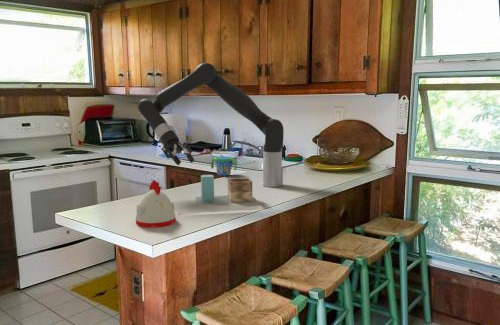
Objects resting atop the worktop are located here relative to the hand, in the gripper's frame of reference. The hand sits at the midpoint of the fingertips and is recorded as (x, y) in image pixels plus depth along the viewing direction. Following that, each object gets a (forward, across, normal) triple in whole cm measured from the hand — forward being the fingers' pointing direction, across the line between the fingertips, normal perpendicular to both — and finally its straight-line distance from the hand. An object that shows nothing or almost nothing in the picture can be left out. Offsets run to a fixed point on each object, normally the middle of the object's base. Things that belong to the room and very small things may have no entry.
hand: (186, 162), depth 190 cm
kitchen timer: (+23, -34, 0) cm, 41 cm away
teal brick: (+19, 0, +2) cm, 19 cm away
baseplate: (+24, +4, -2) cm, 24 cm away
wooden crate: (+28, +8, -5) cm, 29 cm away
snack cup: (-4, +54, +26) cm, 61 cm away
